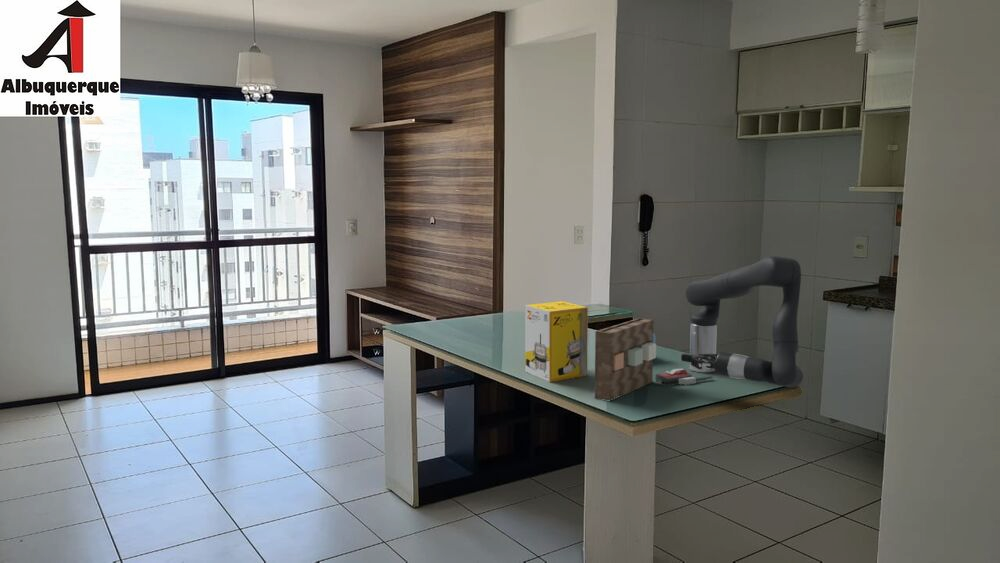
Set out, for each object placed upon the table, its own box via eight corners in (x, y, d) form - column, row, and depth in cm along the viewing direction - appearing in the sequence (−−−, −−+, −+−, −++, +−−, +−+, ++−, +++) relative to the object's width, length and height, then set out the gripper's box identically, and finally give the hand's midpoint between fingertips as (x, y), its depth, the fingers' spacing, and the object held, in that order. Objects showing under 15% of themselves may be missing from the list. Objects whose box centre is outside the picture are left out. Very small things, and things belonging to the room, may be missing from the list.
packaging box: (587, 375, 255) (587, 307, 252) (549, 382, 247) (549, 311, 244) (561, 365, 269) (561, 300, 266) (525, 371, 261) (524, 304, 258)
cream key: (644, 355, 245) (644, 341, 244) (655, 357, 242) (656, 343, 241) (636, 358, 241) (637, 344, 240) (648, 360, 238) (649, 346, 237)
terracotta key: (611, 365, 232) (611, 350, 232) (623, 367, 229) (623, 352, 229) (603, 368, 229) (603, 353, 228) (615, 370, 226) (615, 355, 225)
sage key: (630, 361, 238) (631, 346, 237) (642, 363, 235) (643, 348, 234) (623, 364, 234) (623, 349, 233) (635, 366, 231) (635, 351, 230)
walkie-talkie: (666, 389, 240) (714, 381, 248) (667, 376, 239) (714, 369, 247) (651, 382, 248) (697, 375, 256) (651, 369, 247) (698, 363, 255)
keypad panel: (638, 379, 250) (639, 317, 247) (652, 382, 247) (653, 319, 243) (594, 398, 229) (595, 331, 226) (609, 401, 225) (610, 333, 222)
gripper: (742, 350, 226) (691, 342, 237) (725, 358, 216) (673, 349, 227) (741, 372, 227) (690, 364, 238) (724, 382, 217) (672, 372, 228)
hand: (682, 357), depth 232 cm, fingers closed
